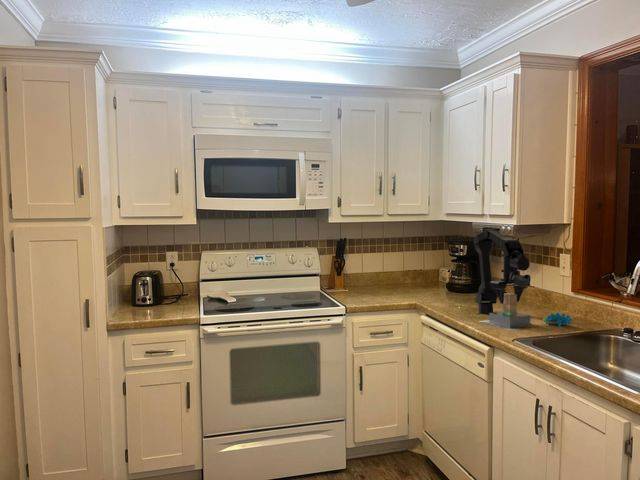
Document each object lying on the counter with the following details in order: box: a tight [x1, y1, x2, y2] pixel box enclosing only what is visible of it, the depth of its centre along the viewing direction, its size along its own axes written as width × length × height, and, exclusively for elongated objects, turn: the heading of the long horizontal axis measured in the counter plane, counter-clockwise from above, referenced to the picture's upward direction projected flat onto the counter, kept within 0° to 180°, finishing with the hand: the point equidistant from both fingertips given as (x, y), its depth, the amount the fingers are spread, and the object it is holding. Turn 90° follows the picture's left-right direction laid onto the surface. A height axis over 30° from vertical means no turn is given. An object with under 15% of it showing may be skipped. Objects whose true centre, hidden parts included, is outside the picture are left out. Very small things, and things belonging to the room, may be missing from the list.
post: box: [502, 292, 518, 316], centre depth 213 cm, size 4×4×10 cm
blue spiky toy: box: [543, 312, 573, 328], centre depth 209 cm, size 11×6×10 cm
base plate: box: [478, 319, 540, 332], centre depth 213 cm, size 20×18×1 cm
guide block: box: [488, 310, 531, 329], centre depth 213 cm, size 12×12×5 cm
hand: (509, 302), depth 213 cm, fingers open, 9 cm apart
